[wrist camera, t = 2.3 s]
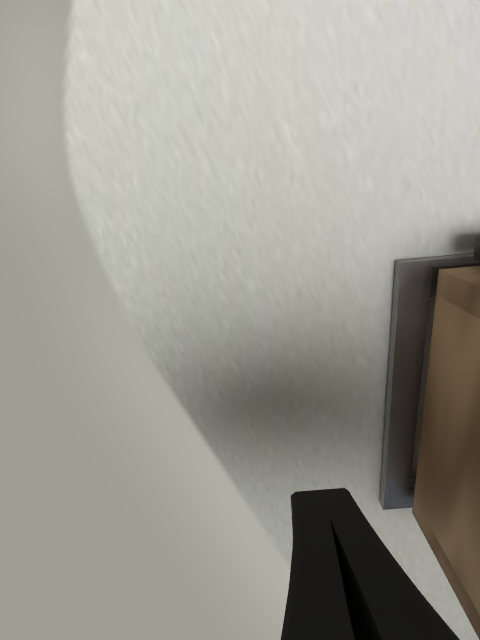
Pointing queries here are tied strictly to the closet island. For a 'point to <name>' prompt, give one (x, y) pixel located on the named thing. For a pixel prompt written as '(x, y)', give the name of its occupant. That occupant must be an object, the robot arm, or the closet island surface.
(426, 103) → the closet island surface
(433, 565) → the closet island surface
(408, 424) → the frame
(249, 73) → the closet island surface
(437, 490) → the cart
